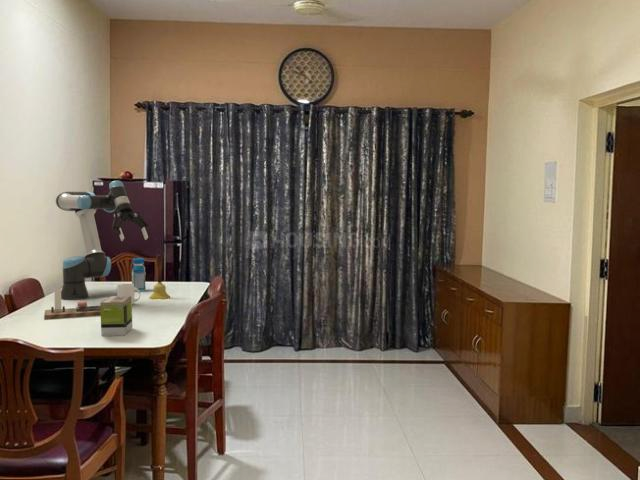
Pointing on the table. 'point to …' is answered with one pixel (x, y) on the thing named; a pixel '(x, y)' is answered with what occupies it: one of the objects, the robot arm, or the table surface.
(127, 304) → the tea box
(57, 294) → the toggle lever
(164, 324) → the table surface
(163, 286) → the handbell
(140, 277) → the beverage bottle
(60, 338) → the table surface
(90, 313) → the control board
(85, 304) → the push button
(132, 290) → the mug
